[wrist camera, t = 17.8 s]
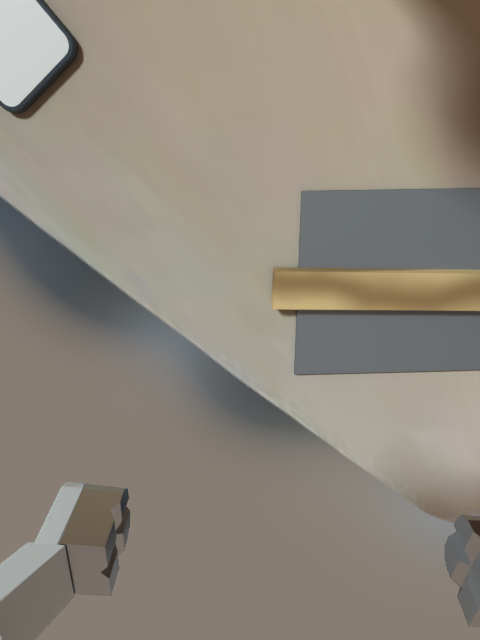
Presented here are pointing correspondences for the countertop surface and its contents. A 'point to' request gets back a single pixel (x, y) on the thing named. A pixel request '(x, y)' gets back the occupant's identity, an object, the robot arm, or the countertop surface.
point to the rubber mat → (388, 253)
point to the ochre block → (376, 289)
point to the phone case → (31, 51)
